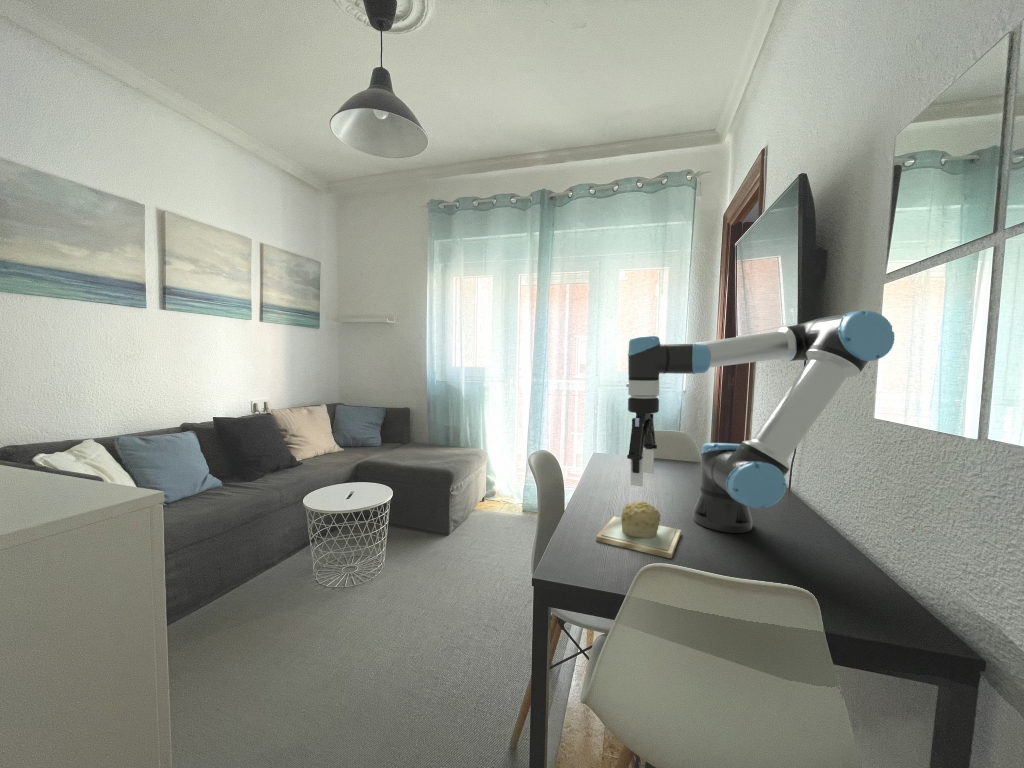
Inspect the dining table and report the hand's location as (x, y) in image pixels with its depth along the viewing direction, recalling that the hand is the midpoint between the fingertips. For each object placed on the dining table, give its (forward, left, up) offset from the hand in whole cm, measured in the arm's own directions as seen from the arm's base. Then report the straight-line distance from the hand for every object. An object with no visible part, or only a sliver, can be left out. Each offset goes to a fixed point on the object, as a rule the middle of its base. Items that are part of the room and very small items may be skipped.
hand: (642, 478), depth 104 cm
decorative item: (0, 0, -14) cm, 14 cm away
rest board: (0, 0, -16) cm, 16 cm away
